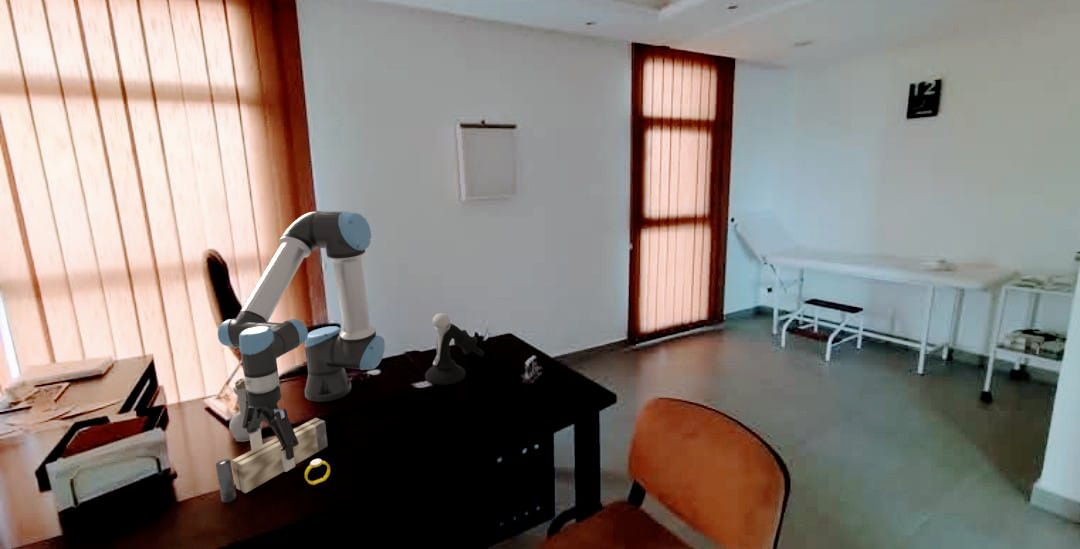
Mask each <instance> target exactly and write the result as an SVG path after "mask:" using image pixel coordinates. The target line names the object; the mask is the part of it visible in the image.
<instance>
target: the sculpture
mask: <svg viewBox="0 0 1080 549" xmlns="http://www.w3.org/2000/svg"><path fill="white" fill-rule="evenodd" d="M432 324H433V326H434V329H435V330H436V340H435V342H436V344H435V346H436V347H435V348H436V349H435V350H436V356H435V358H434V360H433V362H432V366H431V367H430V368H429V369H428V370H426V372H425V374H424V378H425V381H427V382H428V383H429V384H433V385H439V386H441V385H442V386H446V385H454V384H456V383H458V382H461V381H463V380H464V379H465V377H466V370H465V369H464V368H463V367H462V366H461V365H458V364H456V361H455V360H454V359H452V357H451V352H450V344H451V341H452V339H453V344H454V345H455V346H458V347H460V348H461V349H462V351H463V352H462V353H463V354H465V355H469V354H470V353H472V352H473V353H475V354H477V355H478V356H479V357H481V358H482V357H483V356H484V355H485V353H486V352H485V351H484V350H482V349H481V348H480V347H478V346H477V344H478V338H477V337H476V336H471V335H469V333H468V332H467V330H466V329H460V328H459V327H458V326H456V325H455V324H453V323H450V318H449V316H448V315H447V314H446V313H443V312H440V313H436V315H435V316H433V318H432Z"/></svg>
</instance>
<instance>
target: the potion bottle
mask: <svg viewBox="0 0 1080 549" xmlns="http://www.w3.org/2000/svg"><path fill="white" fill-rule="evenodd" d="M244 382H245V378H244V377H242V378H239V379H237V380H235V383H234V385H235V386H234V387H233V388H232V390H233V392H234V394H235V395H236V396H237V402H238V407H239V412H236V413H235V414H234V415H233V416H232V417H231V419H230V421H229V426H228V428H229V431H230V433H231V436H232V438H233V439H235V442H241V443H246V442H249V441H250V436H249V433H248V432H247V429H246V428H245V429H244V428H243V426H242V425H243V420H244V415H245V410H246V400H248V399H247V391H248V390H247V389H246V385H245V384H244ZM263 422H264V421H262V422H261V424H260V428H258V429H260V430H261V431H262V429H263ZM258 429H256V430H258Z"/></svg>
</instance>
